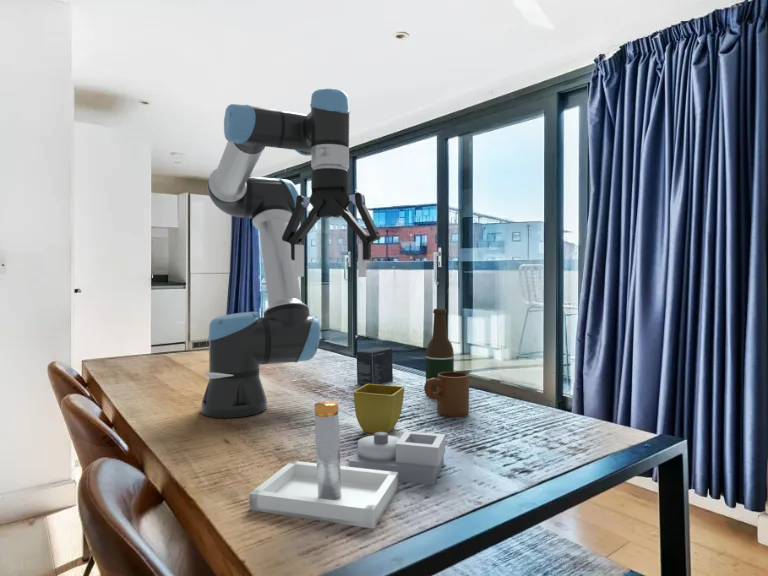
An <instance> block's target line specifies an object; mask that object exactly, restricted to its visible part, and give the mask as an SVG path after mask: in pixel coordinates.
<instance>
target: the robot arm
mask: <svg viewBox="0 0 768 576" xmlns="http://www.w3.org/2000/svg"><path fill="white" fill-rule="evenodd" d="M349 103H350V101H349V96H348V94H347V93H346V92H344V91H343V90H341V89H337V88H330V87H327V88H325V87H323V88H319V89H316V90H314V91H313V93H312V94H311V100H310V104H309V105H310V106H309V107H310V112H309V113H307V114H305V113H298V112H292V111H291V112H290V111H284V110H278V109H272V108H265V107H261V106H260V107H259V106H254V105H253V106H252V105H250V104H235V103H232V104H228V105H227V107H226V108H225V112H224V120H223V133H224V138H225V139H226V141H227V143H226V145H225V148H224V150H223V153H222V156H221V159H220V161H219V164H218V166H217V168H216V169H214V170H213V171H212V172H211V174H210V175H209V177H208V180H207V185H206V187H207V193H208V196H209V198H210V200H211V202H212V203H213V204H214V205H215V206H216V207H217V208H218V209H219V210H220V211H221V212H223V213H225V214H227V215H229V216H231V217H236V218H242V219H243V218H244V219H251V221H252V225H253V227H254V228H255V229H256V230H258V231H259V239H260V240H259V241H260V247H261V255H262V263H263V270H264V271H263V272H264V279H265V286H266V287H265V288H266V289H265V290H266V295H267V297H266V298H267V305H268V306H267V307H266V309H265V310H264V311H263V317H262V316H261V315H260V314H259V311H245V312H237V313H236V312H235V313H231V314H225V315H220V316H217V317H215V318H213V319H212V320H211V321H210V323H209V325H208V326H209V328H208V338H207V340H208V355H209V356H208V358H209V359H208V362H209V364H208V368H209V369H208V372H215V373H223V374H231V375H234V376H229V377H223V378H213V379H211V378H209V377H208V378H209V379H208V382H207V385H206V389H205V392H204V395H203V398H202V401H201V414H202V415H204V416H206V417H210V418H216V419H217V418H220V419H231V418H232V419H233V418H234V417H235V418H243V417H248V416H253V415H257V414H259V413H262V411H263V412H264V411H266V410H267V409H268V408H267V407H268V400H267V396H266V393H265V389H264V387H263V383H262V382H261V378H260V366H261V365H271V364H272V365H273V364H285V363H286V364H287V363H288V364H289V363H299V362H305V361H310V360H312V359H313V358H314V356H315V355H316V354H317V351H318V349H319V345H320V338H321V325H320V319H319V318H318V316H317V315H314V314H310V309H309V306H308V305H307V304H305V303H304V302H302V296H301V295H302V294H301V288H300V283H299V278H303V277H305V245H304V244H302V242H303V241H304V239H305V238H306V236H307V235H308V234H309V233H310V231H311V230H312V229H313V228H314V226H315V225H316V223H317V222H318V221H319V220H320V219H322V218H324V219H328V218H335V219H336V218H340V217H341V218H342V219H344V221H345V222H346V223H347V224H348V226H349V227H350V228H351V229H352V231H353V232H354V233H355V234H356V236H357V237H358V238H359V239H360V240H361V242H360V243H359V242H358V245H357V246H358V247H357V248H358V249H357V250H358V253H357V255H358V256H357V258H358V260H357V261H358V262H357V274H358V275H357V276H358V277H359V278H367V261H371V258H372V244H373V242H377V241H379V240H380V239H381V234H380V233H379V231H378V229H377V226H376V225H375V222H374V219H373V217H372V215H371V214H370V212H369V210H368V208H367V206H366V199H365V195H364V194H362V193H361V192H356V193H354V194H350V173H349V171H348V170H349V169H350V114H351V111H350V105H349ZM266 147H269V148H275V149H276V148H277V149H285V150H293V151H295V152H296V153H298V154H300V155H303V156H306V157H307V156H309V157H310V156H311V159H310V160H311V161H310V164H311V166H310V167H311V168H312V171H311V172H310V173H311V175H310V176H311V178H310V180H311V181H310V183H311V184H310V187H311V195H310V196H303V195H301V194H299V192H298V190H297V187H296V185H295V183H293V181H291V180H289V179H284V178H280V177H273V178H272V177H264V176H254V175H252V173H253V171H254V168H255V167H256V165H257V163H258V161H259V159H260V158H261V156H262V153H263V152H264V151H265V148H266ZM351 202H352V205H354V206H355V207H356V210H357V212H358V213H359V215H360V218H361V219H362V220H361V221H362V222H363V224H364V226H365V227H366V230H367V232H368V233H367V232H366V231H365V230H364V228H363V227H362V226H361V224H360V223H359V222H358V221H357V220H356V218H355V217H354V216H353V214H352V213H351V211H350V210H349V209H348V207H349V206H350V204H351ZM310 205H311V206H312V209H311V210H310V211H309V212H308V213H307V214H308V215H307V217H306V218H305V219H304V221H303V222H302V219H303V217H304V214H305V213H306V210H307V208H308V207H309V206H310ZM301 222H302V223H301ZM265 409H266V410H265Z"/></svg>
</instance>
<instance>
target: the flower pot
mask: <svg viewBox="0 0 768 576" xmlns="http://www.w3.org/2000/svg"><path fill="white" fill-rule="evenodd" d="M352 393H353V402H354V411H355V417H356V420H357V423H358V425H359V426H360V428H361V429H362V431H363V432H364V433H369V434H374V433H377V432H385V433H388V434H389V433H390V432H391V431H393V429H395V427H396V425H397V424H398V422H399V418H400V416H401V413H402V409H403V403H404V394H405V386H401V385H399V386H398V385H388V384H380V385H379V384H366V385H361V387H359V388H357V389H355V390H354V391H353V392H352Z"/></svg>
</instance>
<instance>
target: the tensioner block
mask: <svg viewBox="0 0 768 576" xmlns="http://www.w3.org/2000/svg"><path fill="white" fill-rule="evenodd" d="M445 454H446V434H445V433H443V434H442V433H431V432H421V431H408V430H405V431H404V432H403V434H402V435H401V436H400V437H399V436H395V435H394V436H393V435H389V433H385V432H377V433H373V435H368V436H364V437H361V438H360V439H359V440H357V452H355V454H354V455H353V456H352V457H351V458H350V459H349V460H348V467H355V468H364V469H373V470H382V471H392V472H398V482H403V483H411V484H419V485H428V486H434V485H435V484H436V483H435V482H436V481H437V479H438V477H439V474H440V472H441V469H442V468H443V466H444V463H445V462H444V461H445V459H444V457H445V456H444V455H445Z"/></svg>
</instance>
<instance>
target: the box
mask: <svg viewBox="0 0 768 576" xmlns="http://www.w3.org/2000/svg"><path fill="white" fill-rule="evenodd" d="M355 354H356V382H357V383H358V384H357V383H356V384H357V385H361V384H363V385H362V386H364V385H366V384H379V385H385V384H387V383H390V382H393V381H394V378H393V377H394V376H393V375H394V373H393V349H392V347H391V348H390V347H377V346H376V347H371V348H367V349H361V350H356V352H355Z"/></svg>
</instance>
